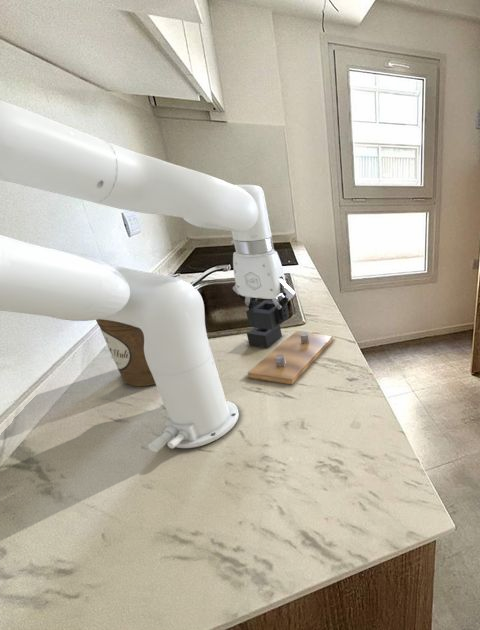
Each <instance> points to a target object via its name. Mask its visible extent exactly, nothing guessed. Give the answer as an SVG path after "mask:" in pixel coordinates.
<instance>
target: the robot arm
mask: <svg viewBox="0 0 480 630" xmlns="http://www.w3.org/2000/svg"><path fill="white" fill-rule="evenodd" d="M0 181H2V182H3V181H4V182H6V183H7V182H8V183H12V184H16V185H20V186H25V187H29V188H32V189H37V190H40V191H44V192H45V191H46V192H49V193H54V194H57V195H61V196H65V197H66V196H67V197H69V198H74V199H78V200H82V201H86V202H91V203H93V204H94V203H95V204H98V205H103V206H106V207H110V208H113V209H118V210H124V211H129V212H134V213H141V214H149V215H160V216H169V217H176V218H182V219H183V220H184V221H186V222H187V223H188V224H190V225H192V226H195V227H198V228H204V229H211V230H221V231H228V232H229V231H230V232H231V235H232V239H231V240H230V243H231V245H232V246H234V249H235V251H234V252H233V254H232V267H233V277H234V281H235V284H234V285H233V286H232V291H233V292H234V293H236V295H238V296H239V298H240V299H241V300H242V301H243V302H244V305H246V306H247V307H248V310H249V309H251V308H253V307H254V306H256V305H258V304H259V303H260V301H259V300H258V299H263V300H271V301H273V302H274V304H275V306H276V309H275V310H274V311H275V315H276V320H277V324H279V325H282V324H283V323H284V322H285V321H287V320H288V318H287V312H286V307H285V305H286V304H287V305H288V303H289V302H290V301H291V299H293V298H294V296H296V294H297V293H296V291H295V290H294V289H293V288H292V287H291V286H289V284H288V283H287V280H286V276H285V271H284V267H283V265H282V262H281V259H280V256H279V253H278V251H277V250H275V247H274V242H273V235H272V230H271V229H272V228H271V224H270V218H269V213H268V208H267V202H266V196H265V192H264V189H262V187H261V186H259V185H257V184H256V185H255V184H232V183H230V182H227V181H225V180H223V179H220V178H218V177H215V176H212V175H211V174H207V173H204V172H201V171H198V170H194V169H191V168H188V167H185V166H182V165H177V164H175V163H171V162H169V161H165V160H163V159H160V158H156V157H154V156H151V155H147V154H143V153H140V152H137V151H134V150H132V149H128V148H125V147H123V146H120V145H117V144H115V143H112V142H109V141H107V140H105V139H102V138H100V137H96V136H94V135H92V134H90V133H87V132H84V131H81V130H79V129H77V128H74V127H72V126H69V125H66V124H64V123H62V122H59V121H57V120H54V119H52V118H49V117H47V116H44V115H41V114H39V113H36V112H34V111H32V110H29V109H26V108H24V107H21V106H19V105H15V104H13V103H10V102H7V101H5V100H1V99H0ZM284 294H285V295H284ZM204 303H205V302H204V300H203V297H202V295H201V293H200V291H198V289H197V288H196V287H195V286H194V285H193V284H191V283H189V282H188V281H186V280H184V279H181V278H179V277H176V276H171V275H166V274H160V273H154V272H149V271H148V272H147V271H142V270H138V269H133V268H127V267H124V266H119V265H115V264H111V263H108V262H105V261H103V260H100V259H98V258H95V257H94V256H90V255H86V254H82V253H78V252H74V251H68V250H64V249H58V248H50V247H46V246H42V245H37V244H34V243H29V242H26V241H22V240H20V239H15V238H13V237H10V236H6V235H3V234H0V311H2V312H8V313H9V312H10V313H16V314H17V313H18V314H26V315H32V316H33V315H34V316H42V317H48V318H52V319H58V320H62V321H69V322H70V321H71V322H90V321H96V320H98V319H102V320H110V321H116V322H120V323H124V324H128V325H132V326H134V327H138V328H140V329H141V330H142V332H143V334H144V354H145V358H146V361H147V364H148V367H149V369H150V371H151V373H152V376H153V378H154V381H155V383H156V384H155V387H156V388H157V390H158V393H159V396H160V398H161V401H162V403H163V405H164V408H165V410H166V413H167V416H168V419H167V420H165V421H164V425H165V429H163V431H162V434H161V435H159V436H157V437H156V438H155V439H154V440H152V441H151V442H150V443H148V445H147V447H148V449H149V450H150V451H151V452H152V453H158V452H159V451H160V450H161V449H162V448H164V447H165V446H166V445H167V447H168V448H169V449H174V448H179V449H193V448H198V447H202V446H205V445H208V444H210V443H212V442H214V441H217V440H218V439H220V438H221V437H224V436H225V435H226V434H227V433H228V432H230V431H231V429H233V427H235V426H236V424H237V422H238V421H239V417H240V416H239V415H240V412H239V408H238V406H237V405H236V404H235V403H233V402H232V401H229V400H227V399H226V395H225V392H224V389H223V385H222V381H221V378H220V375H219V372H218V369H217V365H216V361H215V358H214V355H213V352H212V348H211V345H210V342H209V338H208V333H207V328H206V314H205V313H206V312H205V304H204Z"/></svg>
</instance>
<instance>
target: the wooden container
mask: <svg viewBox="0 0 480 630" xmlns="http://www.w3.org/2000/svg"><path fill="white" fill-rule="evenodd" d="M95 321H96V323H97V325H98V327H99V329H100V331H101V334H102V336H103V338H104V341H105V344H106V345H107V348H108V350H109V352H110V355H111V357H112V359H113V361H114V364H115V365H116V368H117V369H118V372H119V374H120V376H121V378H122V380H123V382H124V383H125V384H127V385H129V386H135V387H144V386H145V387H146V386H152V385H156V383H155V381H154V378H153V376H152V373H151V371H150V369H149V367H148V364H147V361H146V358H145V354H144V334H143V332H142V330H141V329H140V328H138V327H134V326H132V325H128V324H124V323H120V322H116V321H110V320H102V319H98V320H95Z"/></svg>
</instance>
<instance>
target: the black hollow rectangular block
mask: <svg viewBox="0 0 480 630" xmlns="http://www.w3.org/2000/svg"><path fill="white" fill-rule="evenodd" d="M285 307H286V312H287V319H288V318H290V314H289V313H290V312H289V307H288V303H287V304H286V305H285ZM275 309H276V306H275V304H274V302H273V301H272V300H271V299H263V301H262V300H261V302H259V304H258V305H256V306H254V307H253V308H251V309H249V308H248V310H246V312H245V313H246V317H247V321H248V326H249V328H262V329H271V330H273V329H274V328H275V327H277V326H278V325H280V324H277V320H276V315H275V311H274V310H275Z"/></svg>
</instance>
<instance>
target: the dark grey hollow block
mask: <svg viewBox="0 0 480 630" xmlns="http://www.w3.org/2000/svg"><path fill="white" fill-rule="evenodd" d="M246 337H247V341H248V346H251V347H259V348H265V349H269V348H270V347H271V346H273V345H274V343H276V342H278V340H280V339H281V338H282V337H283V335H282V329H281V324H279V325H278V326H277V327H275V328H274V329H273V330H271V329H262V328H255V327H253V328H252V329H251V330H249V331H247V332H246Z"/></svg>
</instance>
